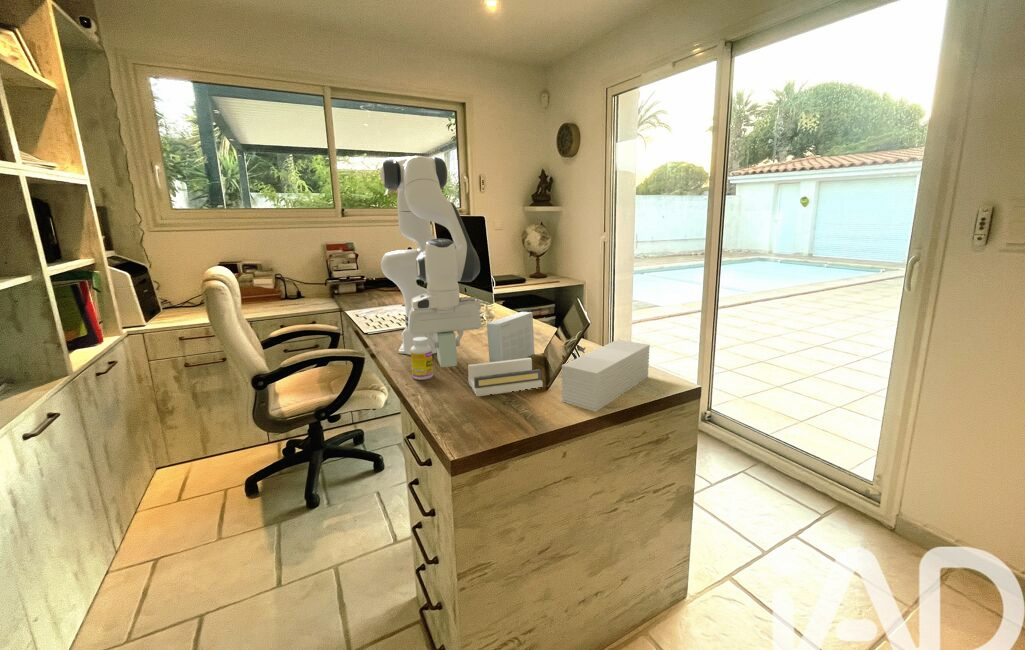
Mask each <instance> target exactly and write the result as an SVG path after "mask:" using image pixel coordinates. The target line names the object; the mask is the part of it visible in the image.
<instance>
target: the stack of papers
mask: <svg viewBox="0 0 1025 650" xmlns="http://www.w3.org/2000/svg"><path fill="white" fill-rule="evenodd" d="M650 347H651V346H650V344H647V343H641V342H635V341H629V340H623V339H617V340H614V341H612V342H609V343H607V344H605V345H603V346H601V347H599V348H596V349H595V350H594V349H593V350H592V351H590V352H588V353H586V354H585V353H584V354H583V355H581V356H579V357H577V358H576V359H574V358H573V359H574V360H573V359H571V360H570V361H568V363H566V362H565V363H566V364H565V363H564V364H561V402H562V403H565V402H566V403H565V404H567V405H571V404H572V406H576V407H579V408H581V407H582V409H586V410H589V411H591V412H598V411H599V410H601V409H602V408H604V407H605V406H606V405H608V404H610V403H612V402H613V401H615V400H616V399H617V398H619V397H620V396H622V395H624V394H625V393H626V392H627V390H628V391H629V390H631V389H632V388H634V387H635V386H637V385H638V384H640V383H641V382H643V381H644V380H645V379H647V378H649V367H650V366H649V363H650V361H649V360H650ZM642 380H643V381H642ZM639 382H640V383H639ZM636 384H637V385H636ZM633 386H634V387H633ZM630 388H631V389H630ZM624 392H625V393H624ZM621 394H622V395H621ZM618 396H619V397H618ZM615 398H616V399H615Z"/></svg>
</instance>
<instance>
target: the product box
mask: <svg viewBox="0 0 1025 650" xmlns="http://www.w3.org/2000/svg"><path fill="white" fill-rule="evenodd" d="M456 338H457V336H456V334H455V331H452V332H441V333H436V341H438V347H439V348H437V353H436V356H437V361H438V363H439V366H440V368H447V367H456V366H458V354H457V353H458V352H457V346H456Z"/></svg>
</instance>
